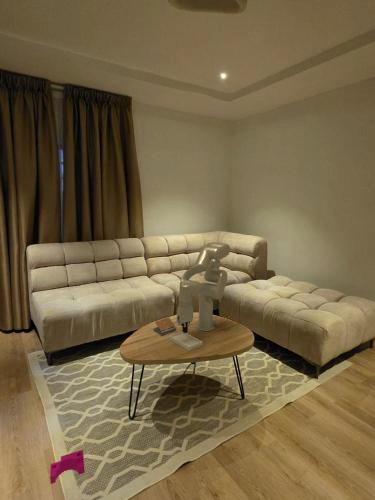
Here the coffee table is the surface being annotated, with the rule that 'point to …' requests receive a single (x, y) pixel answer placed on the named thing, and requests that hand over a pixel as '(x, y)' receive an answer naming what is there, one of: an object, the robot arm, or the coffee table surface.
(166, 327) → the latch flap
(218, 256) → the robot arm
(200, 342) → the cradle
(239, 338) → the coffee table surface
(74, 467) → the toy block
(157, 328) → the hinge plinth
